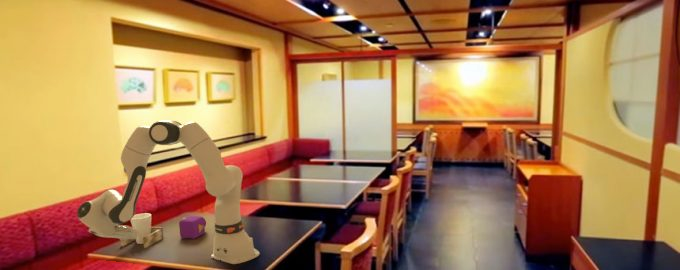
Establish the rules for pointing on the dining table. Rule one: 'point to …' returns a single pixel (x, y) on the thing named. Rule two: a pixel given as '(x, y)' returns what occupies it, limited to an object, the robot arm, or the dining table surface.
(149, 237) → the cup holder
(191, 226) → the toy camera
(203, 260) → the dining table surface
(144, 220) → the foam cup
